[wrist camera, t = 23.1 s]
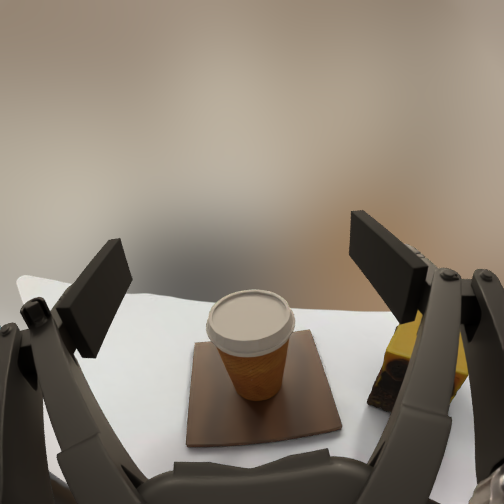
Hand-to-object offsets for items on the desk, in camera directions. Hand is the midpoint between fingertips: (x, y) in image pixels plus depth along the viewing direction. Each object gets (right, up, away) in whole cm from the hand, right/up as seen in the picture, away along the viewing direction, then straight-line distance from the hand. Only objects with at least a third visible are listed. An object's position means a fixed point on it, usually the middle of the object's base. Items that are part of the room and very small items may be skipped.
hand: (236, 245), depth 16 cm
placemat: (+2, -18, +20) cm, 27 cm away
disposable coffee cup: (+2, -17, +19) cm, 26 cm away
